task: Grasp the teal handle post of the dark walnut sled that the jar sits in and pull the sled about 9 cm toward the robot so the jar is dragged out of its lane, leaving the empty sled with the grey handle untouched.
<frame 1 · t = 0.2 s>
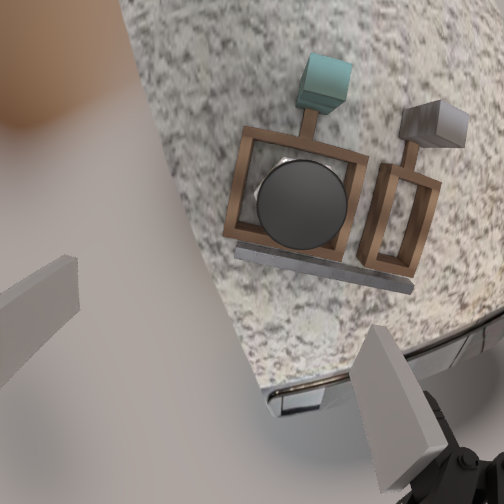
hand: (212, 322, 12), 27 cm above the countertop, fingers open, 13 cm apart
empty sled: (417, 193, 31), point 5 cm above the countertop, slide at 0.0 cm
end bar: (328, 266, 40), on the countertop
jar: (293, 190, 37), resting in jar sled
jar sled: (304, 160, 31), point 5 cm above the countertop, slide at 0.0 cm
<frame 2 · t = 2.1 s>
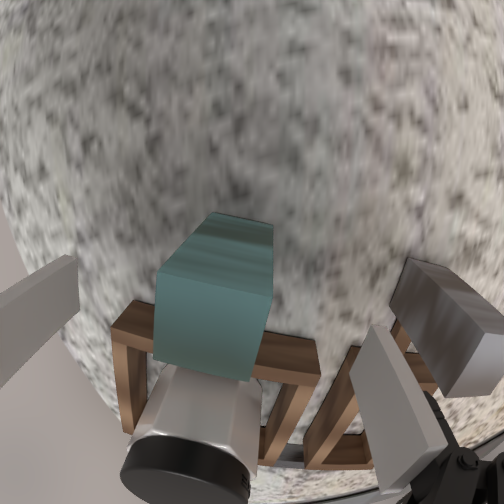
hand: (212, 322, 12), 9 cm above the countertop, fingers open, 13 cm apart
empty sled: (394, 413, 18), point 5 cm above the countertop, slide at 0.0 cm
end bar: (266, 445, 27), on the countertop
jar: (212, 378, 25), resting in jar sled
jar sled: (205, 391, 18), point 5 cm above the countertop, slide at 0.0 cm
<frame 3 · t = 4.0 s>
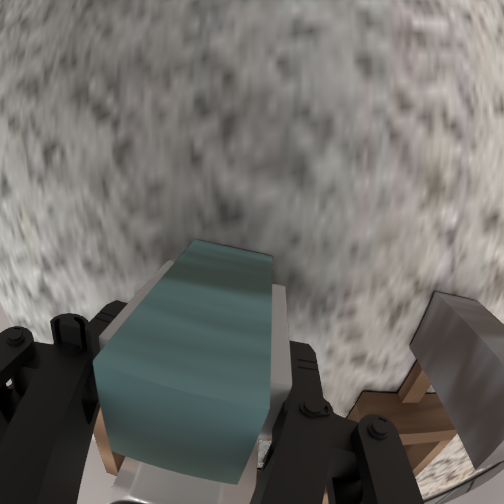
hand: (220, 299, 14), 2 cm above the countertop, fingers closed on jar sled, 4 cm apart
empty sled: (408, 464, 14), point 5 cm above the countertop, slide at 0.0 cm
jar: (202, 422, 20), resting in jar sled
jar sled: (191, 450, 14), point 5 cm above the countertop, slide at 0.0 cm, touching gripper
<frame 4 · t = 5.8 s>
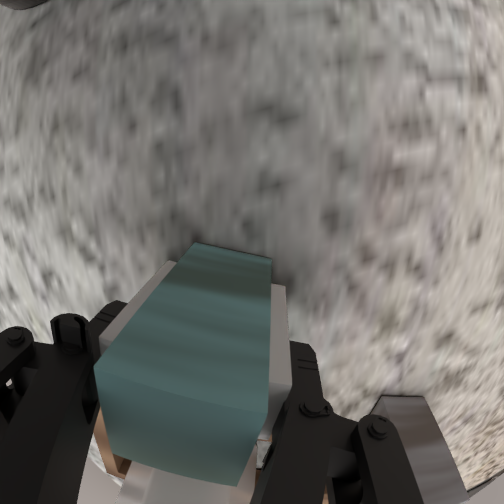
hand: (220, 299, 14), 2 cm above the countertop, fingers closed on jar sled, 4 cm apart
jar: (203, 433, 21), resting in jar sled
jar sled: (191, 451, 14), point 5 cm above the countertop, slide at 8.2 cm, touching gripper
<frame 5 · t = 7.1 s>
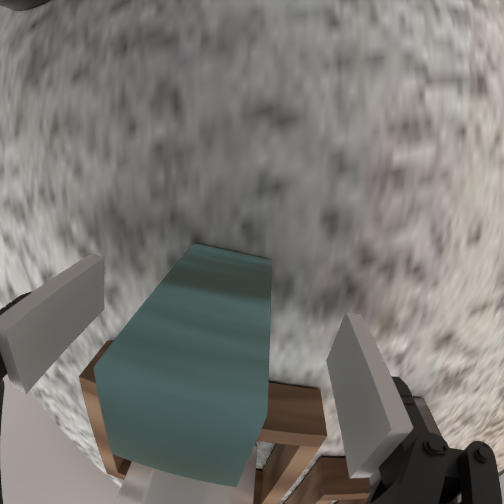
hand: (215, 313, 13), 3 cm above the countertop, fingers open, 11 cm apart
jar: (203, 433, 21), resting in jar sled
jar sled: (190, 452, 14), point 5 cm above the countertop, slide at 8.3 cm
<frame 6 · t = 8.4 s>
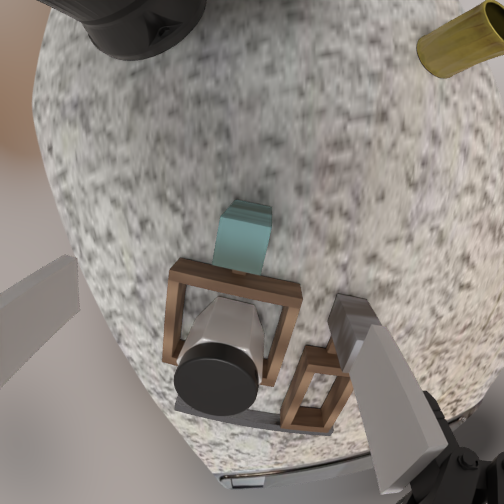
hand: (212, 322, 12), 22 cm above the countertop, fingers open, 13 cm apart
empty sled: (331, 387, 33), point 5 cm above the countertop, slide at 0.0 cm
end bar: (256, 413, 42), on the countertop
jar: (230, 325, 38), resting in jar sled
vase: (435, 57, 25), on the countertop
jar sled: (230, 309, 31), point 5 cm above the countertop, slide at 8.3 cm
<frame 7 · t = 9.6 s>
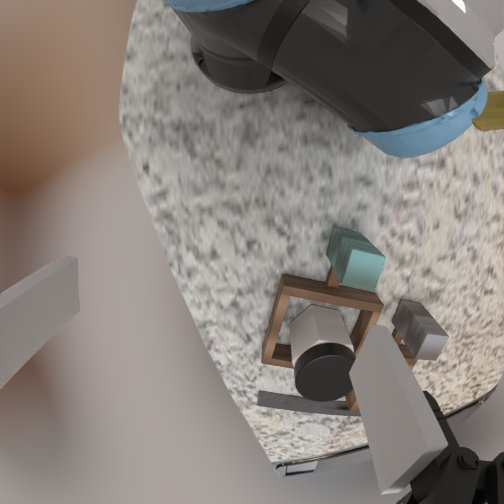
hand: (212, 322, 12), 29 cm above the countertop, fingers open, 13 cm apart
empty sled: (395, 373, 40), point 5 cm above the countertop, slide at 0.0 cm
end bar: (324, 402, 49), on the countertop
jar: (316, 328, 44), resting in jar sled
vase: (480, 112, 32), on the countertop
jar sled: (332, 316, 38), point 5 cm above the countertop, slide at 8.3 cm
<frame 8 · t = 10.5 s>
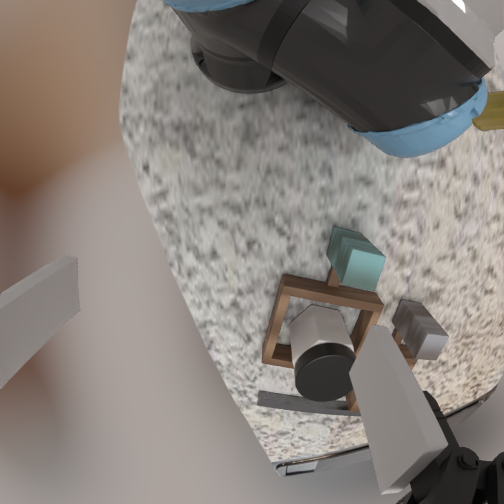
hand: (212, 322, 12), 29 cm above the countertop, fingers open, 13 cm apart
empty sled: (395, 373, 40), point 5 cm above the countertop, slide at 0.0 cm
end bar: (324, 402, 49), on the countertop
jar: (317, 328, 44), resting in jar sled
vase: (480, 112, 32), on the countertop
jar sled: (332, 315, 38), point 5 cm above the countertop, slide at 8.3 cm
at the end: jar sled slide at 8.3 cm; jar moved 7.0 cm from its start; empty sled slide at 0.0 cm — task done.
